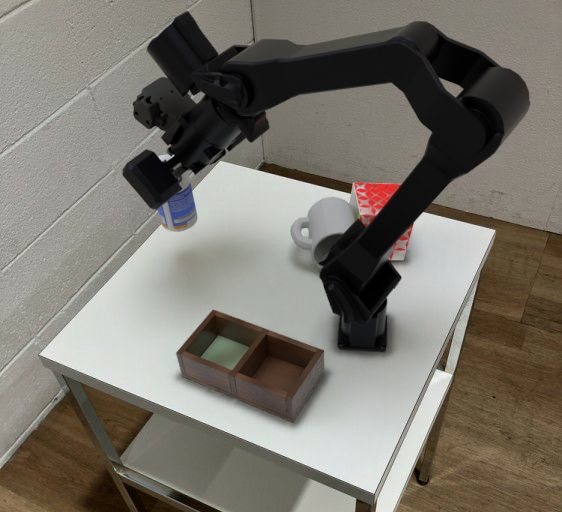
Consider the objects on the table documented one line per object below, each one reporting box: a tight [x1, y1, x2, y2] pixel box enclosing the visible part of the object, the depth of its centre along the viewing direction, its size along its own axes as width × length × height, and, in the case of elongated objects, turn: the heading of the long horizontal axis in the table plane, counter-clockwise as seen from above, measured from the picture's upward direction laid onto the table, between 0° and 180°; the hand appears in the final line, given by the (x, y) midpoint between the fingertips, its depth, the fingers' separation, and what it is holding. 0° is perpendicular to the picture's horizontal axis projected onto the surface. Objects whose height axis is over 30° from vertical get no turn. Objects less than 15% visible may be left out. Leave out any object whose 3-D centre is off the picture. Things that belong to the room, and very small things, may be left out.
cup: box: [289, 196, 356, 270], centre depth 94 cm, size 7×10×9 cm
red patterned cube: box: [348, 181, 415, 261], centre depth 94 cm, size 8×8×8 cm
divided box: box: [175, 309, 325, 423], centre depth 80 cm, size 16×9×5 cm, turn 61°
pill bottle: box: [156, 153, 199, 233], centre depth 89 cm, size 5×5×10 cm
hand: (163, 179), depth 88 cm, fingers closed on pill bottle, 5 cm apart
